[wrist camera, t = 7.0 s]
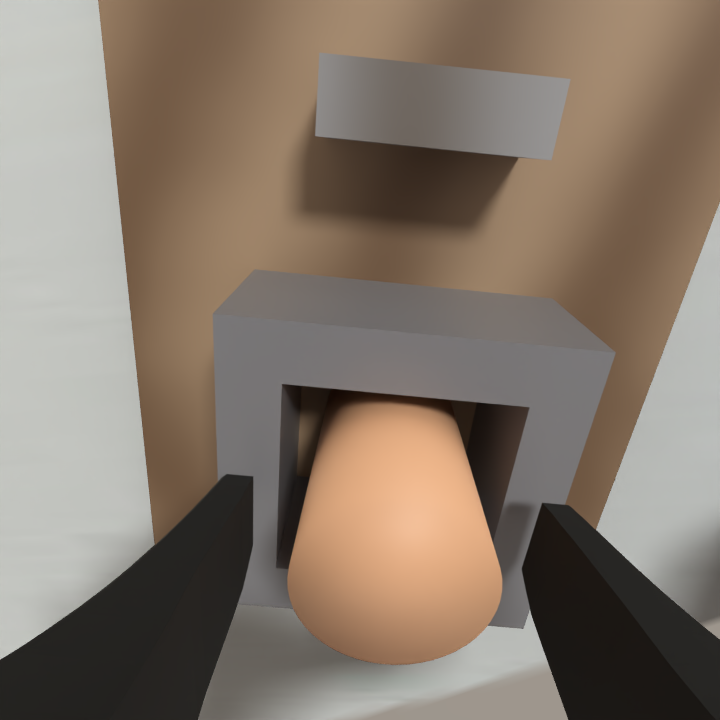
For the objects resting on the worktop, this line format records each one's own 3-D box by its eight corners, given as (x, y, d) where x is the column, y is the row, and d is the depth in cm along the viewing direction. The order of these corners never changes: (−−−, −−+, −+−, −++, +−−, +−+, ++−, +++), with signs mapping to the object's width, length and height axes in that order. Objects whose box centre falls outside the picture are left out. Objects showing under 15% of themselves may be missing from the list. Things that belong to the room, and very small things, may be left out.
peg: (461, 363, 15) (523, 513, 8) (440, 473, 16) (479, 674, 10) (331, 349, 15) (292, 489, 8) (322, 460, 16) (282, 653, 10)
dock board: (902, -376, 9) (1175, -644, 6) (557, 587, 20) (592, 671, 17) (74, -477, 9) (-86, -813, 6) (167, 553, 20) (127, 632, 16)
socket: (552, 298, 14) (616, 352, 10) (491, 527, 17) (523, 628, 14) (254, 269, 14) (212, 313, 10) (253, 506, 17) (221, 602, 14)
